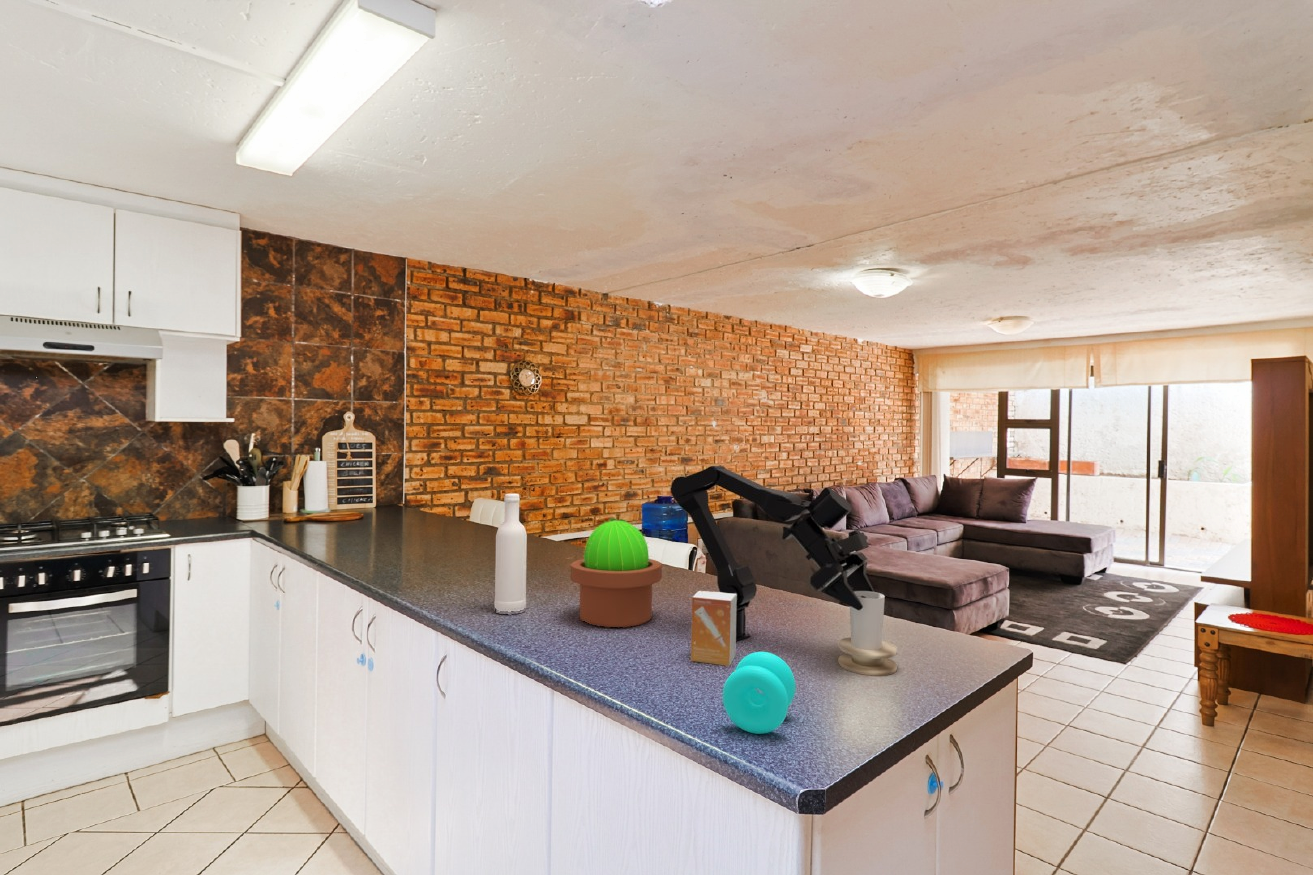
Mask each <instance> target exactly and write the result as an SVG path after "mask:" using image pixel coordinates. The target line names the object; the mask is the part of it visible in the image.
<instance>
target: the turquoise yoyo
mask: <svg viewBox="0 0 1313 875" xmlns="http://www.w3.org/2000/svg"><path fill="white" fill-rule="evenodd" d="M796 688H797V686H796V679H795V676H794V674H793V671H792V669H791V667H790V666H789V665H788V663H787V662H786V661H785V660H783V659H782V658H781V657H779V655H776V654H775V653H771V652H767V651H757V652H756V651H755V652H752V653H749V654H747V655H746V656H744V657H743V658H742V659H741V660H740V661H739V663H738V664H737V666H736V668H735V670H734V671H733V672H732V673H731V674H730V675H729V676H728V677H727V679H726V680H725V682H724V685H723V689H722V703H723V706H724V707H723V708H724V709H725V712H726V714H727V716H728V717H729V719H730V720H731V721H732V722H733V723H734V725H735V726H737V727H738V728H740V729H741V730H742V731H745V732H748V733H751V734H756V735H757V734H758V735H761V734H762V735H763V734H768V733H771V732H773V731H774V730H776V729H777V728H779V727H780V726H781V725H782V723H783V722H784V721H785V719H786V717H787V714H788V711H789V707H790V705H791V704H792V702H793V701H794V698H795V695H796Z"/></svg>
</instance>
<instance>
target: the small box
mask: <svg viewBox="0 0 1313 875" xmlns="http://www.w3.org/2000/svg"><path fill="white" fill-rule="evenodd" d="M691 598H692V600H691V629H690V630H691V631H690V633H691V634H690V661H691V662H697V663H699V662H700V663H705V664H712V665H720V666H726V667H730V666H731V664H732V662H733V661H734V659H735V657H736V650H737V648H736V646H737V641H736V604H737V594H732V593H722V592H720V591H707V590H698V591H697V592H696V593H695V594H694V595H693V596H692V597H691Z"/></svg>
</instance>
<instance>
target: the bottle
mask: <svg viewBox="0 0 1313 875" xmlns="http://www.w3.org/2000/svg"><path fill="white" fill-rule="evenodd" d="M503 500H504V521H503V522H502V523H501V524H500V525H499V526H498V528H497V532H496V534H495V565H494V566H495V568H494V569H495V570H494V571H495V572H494V574H495V577H494V578H495V579H494V584H495V585H494V609H495V608H496V609H497V610H499V611H508V612H511V611H520V610H523V609H524V608H527V596H526V595H527V546H528V544H527V540H528V539H527V538H528V536H527V534H528V533H527V531H526V527H525V525H523V524H522V523H521V522H520V501H521V499H520V494H519V493H505V494H504V498H503Z"/></svg>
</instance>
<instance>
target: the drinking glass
mask: <svg viewBox="0 0 1313 875" xmlns="http://www.w3.org/2000/svg"><path fill="white" fill-rule="evenodd" d="M853 592H854V593H855V595H856V596H857V598H858V599H859V601H860V602H861V604H862V606H863V608H862V609H861V610H857V609H855V608H853V607H851V606H849V617H850V637H851V644H852V646H854V647H856V648H860V649H866V650H877V649H880V648H881V647H882V640H883V632H884V631H883V629H884V616H885V614H884V613H885V600H886V599H885V597H886V596H885V595H884V594H883V593H880V592H875V591H874V592H870V591H857V590H853Z"/></svg>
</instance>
